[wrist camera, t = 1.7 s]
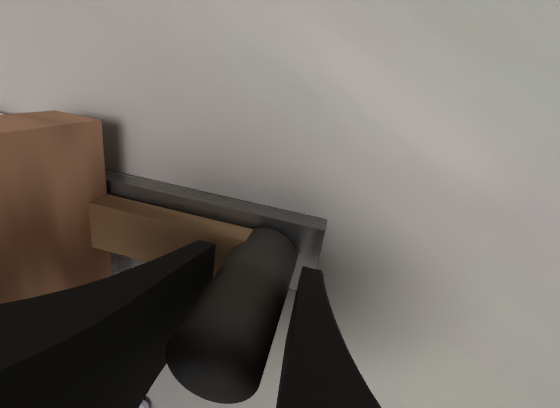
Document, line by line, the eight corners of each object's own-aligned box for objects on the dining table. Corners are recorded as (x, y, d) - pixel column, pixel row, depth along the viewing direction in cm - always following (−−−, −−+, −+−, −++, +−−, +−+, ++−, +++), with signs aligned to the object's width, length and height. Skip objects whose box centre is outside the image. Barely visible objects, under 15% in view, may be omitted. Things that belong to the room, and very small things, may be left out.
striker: (280, 339, 13) (242, 479, 9) (77, 280, 15) (-54, 372, 10) (316, 163, 10) (288, 229, 5) (55, 110, 12) (-149, 126, 7)
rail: (312, 280, 13) (309, 294, 12) (93, 223, 15) (76, 232, 14) (326, 219, 12) (325, 230, 11) (87, 165, 14) (69, 170, 13)
